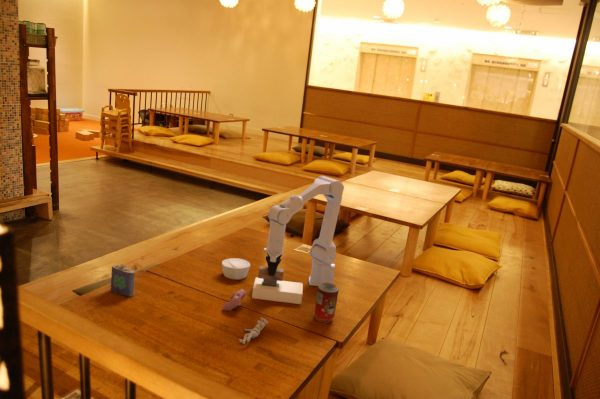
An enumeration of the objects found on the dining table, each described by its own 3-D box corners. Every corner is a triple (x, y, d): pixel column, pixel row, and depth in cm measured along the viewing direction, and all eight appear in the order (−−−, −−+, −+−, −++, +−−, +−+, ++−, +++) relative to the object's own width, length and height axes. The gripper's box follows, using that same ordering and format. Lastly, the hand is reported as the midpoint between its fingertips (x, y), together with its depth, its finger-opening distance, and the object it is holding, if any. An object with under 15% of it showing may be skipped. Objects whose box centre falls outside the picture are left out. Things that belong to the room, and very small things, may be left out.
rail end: (281, 285, 178) (283, 268, 177) (281, 288, 175) (283, 272, 173) (258, 282, 178) (259, 265, 176) (257, 285, 175) (259, 269, 173)
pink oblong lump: (231, 316, 160) (242, 301, 158) (220, 308, 160) (231, 293, 158) (240, 304, 169) (250, 290, 168) (230, 297, 170) (240, 282, 168)
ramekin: (215, 276, 187) (216, 263, 186) (229, 267, 198) (231, 255, 196) (240, 283, 184) (241, 270, 182) (253, 274, 194) (255, 262, 193)
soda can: (323, 325, 159) (329, 291, 156) (309, 316, 164) (314, 283, 161) (338, 320, 164) (343, 287, 161) (323, 312, 169) (328, 280, 166)
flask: (135, 295, 162) (136, 266, 160) (129, 298, 160) (130, 268, 157) (114, 288, 166) (115, 259, 163) (107, 291, 163) (108, 262, 160)
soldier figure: (232, 343, 143) (249, 316, 153) (243, 354, 144) (259, 326, 154) (248, 334, 139) (264, 307, 149) (259, 346, 140) (274, 318, 149)
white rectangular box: (301, 292, 182) (302, 283, 181) (301, 304, 173) (302, 294, 172) (254, 286, 182) (255, 277, 181) (251, 298, 172) (253, 287, 171)
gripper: (266, 231, 179) (262, 264, 182) (263, 243, 165) (259, 279, 168) (285, 233, 179) (281, 267, 182) (283, 246, 165) (279, 282, 168)
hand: (271, 273), depth 175 cm, fingers closed on rail end, 3 cm apart
